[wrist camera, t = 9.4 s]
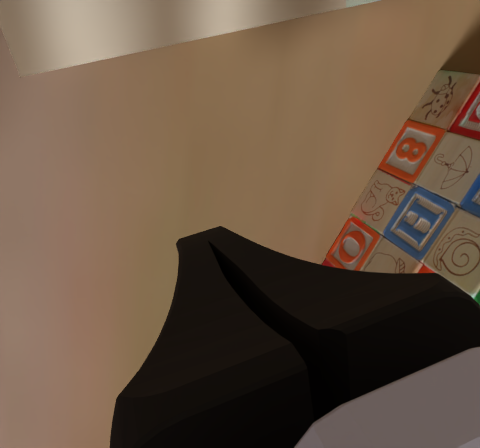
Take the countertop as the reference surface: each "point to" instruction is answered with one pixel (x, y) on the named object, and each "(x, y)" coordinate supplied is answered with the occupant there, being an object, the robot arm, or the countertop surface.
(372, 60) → the countertop surface
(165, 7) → the chute board
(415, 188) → the stack of blocks
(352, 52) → the countertop surface
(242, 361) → the robot arm
